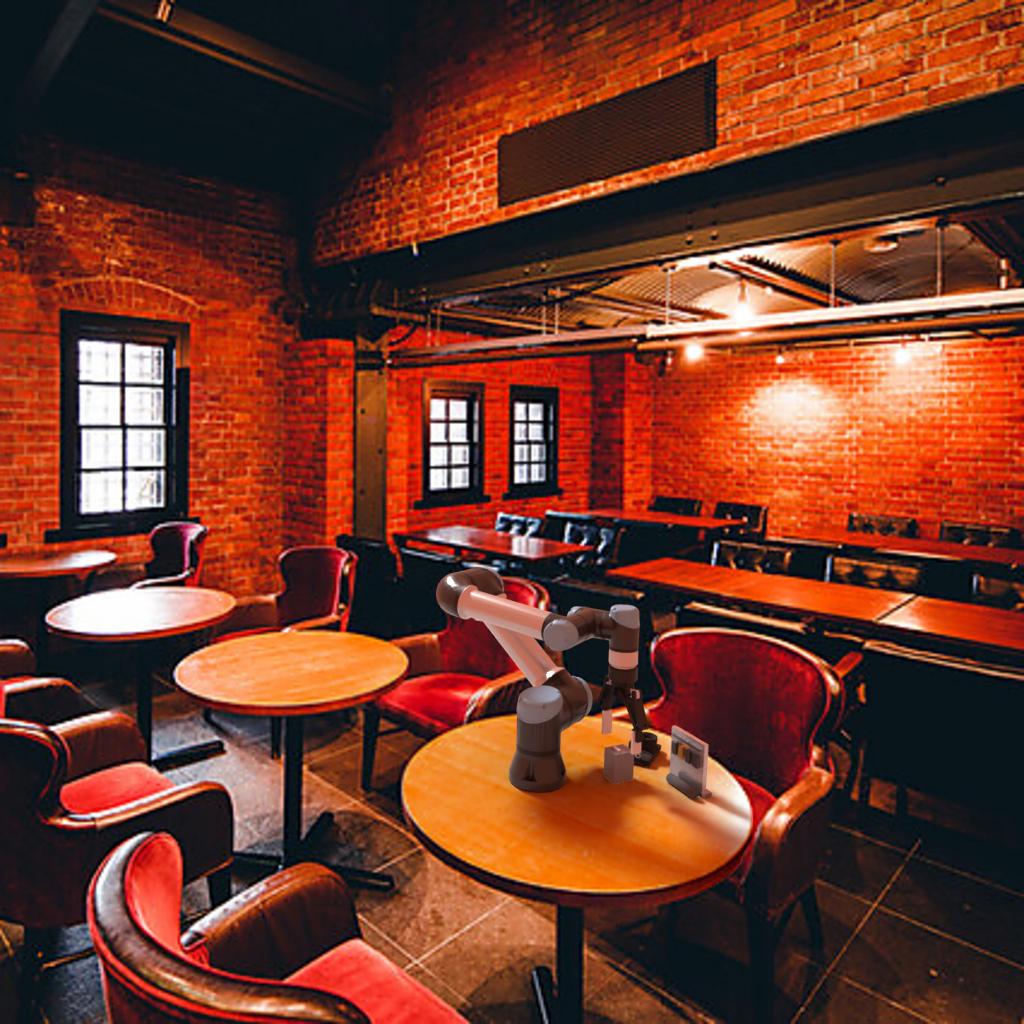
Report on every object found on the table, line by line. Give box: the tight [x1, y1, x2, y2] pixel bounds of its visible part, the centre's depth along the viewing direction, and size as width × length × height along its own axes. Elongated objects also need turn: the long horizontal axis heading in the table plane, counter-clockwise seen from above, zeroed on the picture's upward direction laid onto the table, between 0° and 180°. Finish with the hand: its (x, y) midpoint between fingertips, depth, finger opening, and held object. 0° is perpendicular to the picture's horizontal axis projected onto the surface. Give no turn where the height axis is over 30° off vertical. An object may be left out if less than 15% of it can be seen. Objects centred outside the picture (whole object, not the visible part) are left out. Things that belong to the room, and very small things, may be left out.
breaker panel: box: [669, 725, 713, 799], centre depth 190 cm, size 4×13×14 cm, turn 26°
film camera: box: [627, 731, 662, 768], centre depth 207 cm, size 13×8×10 cm
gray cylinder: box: [665, 772, 699, 800], centre depth 188 cm, size 10×2×2 cm, turn 26°
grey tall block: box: [602, 743, 635, 785], centre depth 194 cm, size 7×5×9 cm
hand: (620, 743), depth 193 cm, fingers open, 13 cm apart
